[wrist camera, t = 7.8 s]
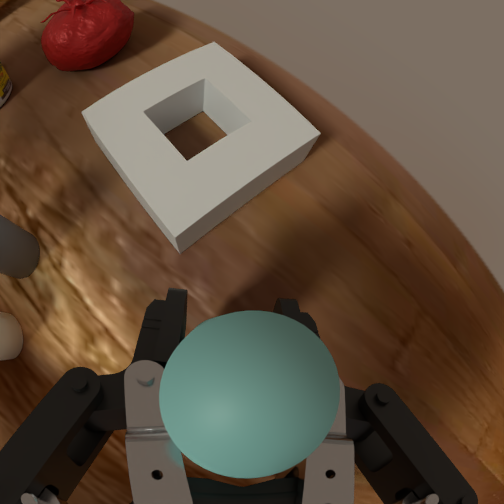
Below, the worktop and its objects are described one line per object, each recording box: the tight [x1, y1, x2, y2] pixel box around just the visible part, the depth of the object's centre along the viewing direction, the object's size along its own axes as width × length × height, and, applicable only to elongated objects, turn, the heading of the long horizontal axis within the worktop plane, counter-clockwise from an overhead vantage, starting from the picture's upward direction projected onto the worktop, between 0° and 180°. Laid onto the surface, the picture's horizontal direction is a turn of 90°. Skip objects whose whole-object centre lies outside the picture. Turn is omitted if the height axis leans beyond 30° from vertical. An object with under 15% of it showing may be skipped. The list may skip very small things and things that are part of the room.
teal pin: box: [159, 311, 340, 478], centre depth 11 cm, size 4×4×12 cm
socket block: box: [81, 42, 321, 254], centre depth 20 cm, size 12×12×4 cm
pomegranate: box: [41, 0, 134, 71], centre depth 19 cm, size 10×10×9 cm
